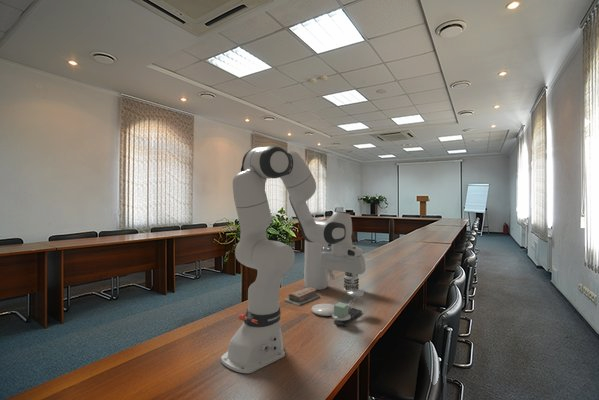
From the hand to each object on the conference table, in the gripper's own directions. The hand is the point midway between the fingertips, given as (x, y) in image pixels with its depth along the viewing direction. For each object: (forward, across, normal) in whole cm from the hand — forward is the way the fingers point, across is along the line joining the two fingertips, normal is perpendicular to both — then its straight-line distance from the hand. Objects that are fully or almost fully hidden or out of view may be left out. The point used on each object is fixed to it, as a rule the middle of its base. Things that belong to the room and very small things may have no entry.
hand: (341, 281), depth 124 cm
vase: (+19, -36, +36) cm, 55 cm away
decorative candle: (+19, -16, +44) cm, 50 cm away
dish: (+18, -12, +6) cm, 23 cm away
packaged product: (+19, -31, +14) cm, 39 cm away
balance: (+18, 0, +6) cm, 19 cm away
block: (+15, 0, 0) cm, 15 cm away
